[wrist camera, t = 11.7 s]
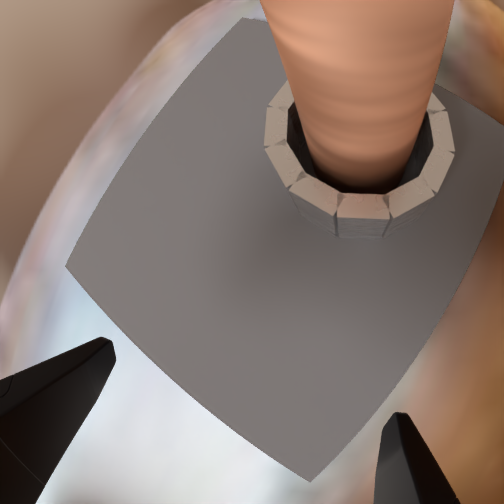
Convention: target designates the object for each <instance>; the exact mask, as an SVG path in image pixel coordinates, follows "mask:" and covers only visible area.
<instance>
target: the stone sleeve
mask: <svg viewBox="0 0 504 504" xmlns="http://www.w3.org/2000/svg"><path fill="white" fill-rule="evenodd" d="M268 105H269V107H267V113H266V125H265V137H264V147H265V151H266V153H267V155H268V156H269V158H270V160H271V162H272V164H273V166H274V167H275V169H276V171H277V173H278V175H279V177H280V179H281V180H282V182H283V184H284V186H285V188H286V190H287V191H288V193H289V195H290V197H291V199H292V201H293V202H294V204H295V206H296V208H297V210H298V212H299V214H301V216H302V217H304V218H305V219H307V220H309V221H310V222H312V223H314V224H315V225H317V226H318V227H320V228H322V229H323V230H325V231H327V232H328V233H330V234H331V235H333V236H335V237H336V236H337V235H338V233H339V238H345V239H369V240H380V238H382V239H384V238H386V237H387V236H389V235H391V234H393V233H395V232H397V231H398V230H400V229H402V228H404V227H406V226H407V225H409V224H411V223H413V222H414V221H416V220H417V219H418V218H419V216H420V215H421V214H422V213H423V211H424V210H425V209H426V207H427V206H428V205H429V203H430V202H431V201H432V199H433V198H434V197H435V195H436V194H437V193H438V191H439V188H440V186H441V184H442V182H443V180H444V178H445V176H446V173H447V171H448V169H449V167H450V164H451V162H452V160H453V158H454V152H455V148H454V143H453V137H452V132H451V127H450V122H449V117H448V113H447V111H445V109H446V108H445V107H444V106H443V105H442V103H441V102H440V101H439V100H438V99H437V97H436V96H435V95H434V94H433V93H431V96H430V99H429V103H428V106H427V109H426V112H425V115H424V118H423V121H422V124H421V127H420V130H419V133H418V136H417V139H416V141H415V144H414V147H413V150H414V153H415V162H416V172H417V178H415V179H413V180H411V181H410V182H408V183H406V184H404V185H402V186H400V187H398V188H396V189H395V190H393V191H391V192H389V193H387V194H385V195H378V194H352V193H341V192H339V191H337V190H335V189H334V188H332V187H330V186H328V185H327V184H325V183H323V182H321V181H319V180H318V179H316V178H314V177H312V176H310V175H309V174H307V173H305V171H304V170H303V168H302V166H301V165H300V161H301V147H302V146H303V145H304V143H305V142H306V139H305V135H304V131H303V128H302V124H301V121H300V118H299V114H298V111H297V108H296V104H295V101H294V98H293V95H292V91H291V88H290V85H289V82H288V80H287V81H286V82H285V84H284V85H283V86H282V87H281V89H280V90H279V91H278V93H277V94H276V95H275V96H274V98H273V99H272V100H271V102H270V103H269V104H268Z"/></svg>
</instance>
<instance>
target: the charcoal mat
mask: <svg viewBox="0 0 504 504" xmlns="http://www.w3.org/2000/svg"><path fill="white" fill-rule="evenodd" d="M287 80H288V79H287V76H286V73H285V70H284V67H283V64H282V61H281V58H280V55H279V52H278V49H277V46H276V43H275V40H274V38H273V35H272V32H271V29H270V26H269V24H268V23H267V22H263V21H258V20H253V19H248V18H242V19H240V20H239V21H238V22H237V23H236V24H235V25H234V26H233V27H232V28H231V30H230V31H229V32H228V33H227V34H226V35H225V36H224V37H223V38H222V39H221V40H220V41H219V42H218V43H217V44H216V45H215V46H214V47H213V48H212V50H211V51H210V52H209V53H208V54H207V55H206V56H205V57H204V58H203V60H202V61H201V62H200V63H199V64H198V65H197V66H196V68H195V69H194V70H193V71H192V72H191V73H190V75H189V76H188V77H187V78H186V79H185V81H184V82H183V83H182V84H181V85H180V87H179V88H178V89H177V90H176V92H175V93H174V94H173V95H172V97H171V98H170V99H169V100H168V102H167V103H166V104H165V106H164V107H163V108H162V109H161V111H160V112H159V113H158V115H157V116H156V117H155V119H154V120H153V121H152V123H151V124H150V125H149V127H148V128H147V130H146V131H145V132H144V134H143V135H142V137H141V138H140V139H139V141H138V142H137V144H136V145H135V147H134V148H133V150H132V151H131V153H130V154H129V156H128V157H127V159H126V160H125V162H124V163H123V165H122V166H121V168H120V169H119V171H118V172H117V174H116V175H115V177H114V179H113V180H112V182H111V183H110V185H109V187H108V188H107V190H106V192H105V193H104V195H103V197H102V198H101V200H100V202H99V203H98V205H97V207H96V209H95V210H94V212H93V214H92V216H91V217H90V219H89V221H88V223H87V225H86V226H85V228H84V230H83V232H82V234H81V236H80V238H79V239H78V241H77V243H76V245H75V247H74V249H73V251H72V253H71V255H70V257H69V259H68V261H67V263H66V265H65V267H66V268H67V269H68V271H69V272H70V273H71V274H72V275H73V277H74V278H75V279H76V280H77V281H78V283H79V284H80V285H81V286H82V287H83V289H84V290H85V291H86V292H87V293H88V294H89V296H90V297H91V298H92V299H93V300H94V301H95V302H96V303H97V305H98V306H99V307H100V308H101V309H102V310H103V311H104V312H105V313H106V315H107V316H108V317H109V318H110V319H111V320H112V321H113V322H114V323H115V324H116V325H117V326H118V327H119V328H120V329H121V331H122V332H123V333H124V334H125V335H126V336H127V337H128V338H129V339H130V340H131V341H132V342H133V343H134V344H135V345H136V346H137V347H138V348H139V349H140V350H141V351H142V352H143V353H144V354H145V355H146V356H147V357H148V358H149V359H151V360H152V361H153V362H154V363H155V364H156V365H157V366H158V367H159V368H160V369H161V370H162V371H163V372H164V373H165V374H167V375H168V376H169V377H170V378H171V379H172V380H173V381H174V382H175V383H177V384H178V385H179V386H180V387H181V388H182V389H183V390H185V391H186V392H187V393H188V394H189V395H190V396H191V397H193V398H194V399H195V400H196V401H197V402H199V403H200V404H201V405H202V406H203V407H205V408H206V409H207V410H208V411H210V412H211V413H212V414H213V415H214V416H216V417H217V418H218V419H220V420H221V421H222V422H223V423H225V424H226V425H227V426H229V427H230V428H231V429H232V430H234V431H235V432H236V433H238V434H239V435H240V436H242V437H243V438H244V439H246V440H247V441H249V442H250V443H251V444H253V445H254V446H256V447H257V448H258V449H260V450H261V451H263V452H264V453H265V454H267V455H268V456H270V457H271V458H273V459H274V460H276V461H277V462H279V463H280V464H282V465H283V466H285V467H286V468H288V469H289V470H291V471H293V472H294V473H296V474H297V475H299V476H301V477H302V478H304V479H305V480H307V481H309V482H311V481H312V480H313V479H314V478H315V477H316V476H317V475H318V474H319V473H320V472H321V471H322V470H323V469H324V468H325V467H326V466H327V465H328V464H329V463H330V462H331V461H332V460H333V459H334V458H335V457H336V456H337V455H338V454H339V453H340V452H341V451H342V450H343V449H344V448H345V447H346V446H347V444H348V443H349V442H350V441H351V440H352V439H353V438H354V437H355V436H356V434H357V433H358V432H359V431H360V430H361V429H362V428H363V426H364V425H365V424H366V423H367V422H368V420H369V419H370V418H371V417H372V416H373V414H374V413H375V412H376V411H377V410H378V408H379V407H380V406H381V405H382V403H383V402H384V401H385V399H386V398H387V397H388V396H389V394H390V393H391V392H392V390H393V389H394V388H395V386H396V385H397V384H398V382H399V381H400V380H401V378H402V377H403V375H404V374H405V373H406V371H407V370H408V368H409V367H410V366H411V364H412V363H413V361H414V360H415V358H416V357H417V355H418V354H419V352H420V351H421V349H422V348H423V346H424V345H425V343H426V341H427V340H428V338H429V337H430V335H431V334H432V332H433V330H434V329H435V327H436V325H437V324H438V322H439V320H440V319H441V317H442V315H443V314H444V312H445V310H446V308H447V307H448V305H449V303H450V301H451V299H452V298H453V296H454V294H455V292H456V290H457V288H458V286H459V284H460V283H461V281H462V279H463V277H464V275H465V273H466V271H467V269H468V267H469V265H470V262H471V260H472V258H473V256H474V254H475V252H476V250H477V247H478V245H479V243H480V241H481V238H482V236H483V234H484V231H485V229H486V227H487V224H488V222H489V219H490V217H491V214H492V212H493V209H494V206H495V204H496V201H497V198H498V195H499V193H500V190H501V187H502V184H503V181H504V126H503V125H502V124H500V123H499V122H497V121H496V120H494V119H493V118H492V117H490V116H489V115H487V114H486V113H484V112H482V111H481V110H479V109H478V108H476V107H475V106H473V105H471V104H470V103H468V102H466V101H465V100H463V99H461V98H460V97H458V96H456V95H455V94H453V93H451V92H449V91H448V90H446V89H444V88H442V87H440V86H438V85H437V84H435V83H434V86H433V90H432V93H433V94H434V95H435V96H436V97H437V99H438V100H439V101H440V102H441V103H442V105H443V106H444V107H445V108H446V109H445V111H447V113H448V117H449V122H450V127H451V132H452V137H453V143H454V148H455V152H454V158H453V160H452V162H451V164H450V167H449V169H448V171H447V173H446V176H445V178H444V180H443V182H442V184H441V186H440V188H439V191H438V193H437V194H436V195H435V197H434V198H433V199H432V201H431V202H430V203H429V205H428V206H427V207H426V209H425V210H424V211H423V213H422V214H421V215H420V216H419V218H418V219H417V220H416V221H414V222H413V223H411V224H409V225H407V226H406V227H404V228H402V229H400V230H398V231H397V232H395V233H393V234H391V235H389V236H387V237H386V238H384V239H382V238H380V240H369V239H345V238H339V233H338V235H337V236H336V237H335V236H333V235H331V234H330V233H328V232H327V231H325V230H323V229H322V228H320V227H318V226H317V225H315V224H314V223H312V222H310V221H309V220H307V219H305V218H304V217H302V216H301V214H299V212H298V210H297V208H296V206H295V204H294V202H293V201H292V199H291V197H290V195H289V193H288V191H287V190H286V188H285V186H284V184H283V182H282V180H281V179H280V177H279V175H278V173H277V171H276V169H275V167H274V166H273V164H272V162H271V160H270V158H269V156H268V155H267V153H266V151H265V147H264V137H265V125H266V113H267V107H269V105H268V104H269V103H270V102H271V100H272V99H273V98H274V96H275V95H276V94H277V93H278V91H279V90H280V89H281V87H282V86H283V85H284V84H285V82H286V81H287ZM300 165H301V166H302V168H303V170H304V171H305V173H307V174H309V175H310V176H312V177H314V178H316V175H315V172H314V168H313V164H312V160H311V157H310V153H309V149H308V146H307V142H305V143H304V145H303V146H302V147H301V161H300ZM415 178H417V172H416V162H415V153H414V150H412V152H411V155H410V158H409V161H408V163H407V166H406V168H405V171H404V174H403V176H402V179H401V181H400V184H399V186H398V187H400V186H402V185H404V184H406V183H408V182H410V181H411V180H413V179H415ZM316 179H317V178H316ZM398 187H397V188H398Z"/></svg>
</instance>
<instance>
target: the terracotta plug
mask: <svg viewBox="0 0 504 504" xmlns="http://www.w3.org/2000/svg"><path fill="white" fill-rule="evenodd" d="M260 3H261V5H262V8H263V10H264V13H265V16H266V18H267V21H268V24H269V26H270V29H271V32H272V35H273V38H274V40H275V43H276V46H277V49H278V52H279V55H280V58H281V61H282V64H283V67H284V70H285V73H286V76H287V79H288V82H289V85H290V88H291V91H292V95H293V98H294V101H295V104H296V108H297V111H298V114H299V118H300V121H301V124H302V128H303V131H304V135H305V139H306V142H307V146H308V149H309V153H310V157H311V160H312V164H313V168H314V172H315V175H316V178H317V179H318V180H319V181H321V182H323V183H325V184H327V185H328V186H330V187H332V188H334V189H335V190H337V191H339V192H341V193H352V194H378V195H385V194H387V193H389V192H391V191H393V190H395V189H396V188H397V187H398V186H399V184H400V181H401V179H402V176H403V174H404V171H405V168H406V166H407V163H408V161H409V158H410V155H411V152H412V150H413V147H414V144H415V141H416V139H417V136H418V133H419V130H420V127H421V124H422V121H423V118H424V115H425V112H426V109H427V106H428V103H429V99H430V96H431V93H432V90H433V86H434V83H435V79H436V76H437V72H438V69H439V65H440V61H441V57H442V54H443V50H444V46H445V42H446V37H447V33H448V29H449V24H450V20H451V15H452V10H453V5H454V0H260Z"/></svg>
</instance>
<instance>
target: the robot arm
mask: <svg viewBox="0 0 504 504" xmlns="http://www.w3.org/2000/svg"><path fill="white" fill-rule="evenodd" d="M115 362H116V355H115V351H114V346H113V342H112V341H111V340H109V339H107V338H104V337H98V338H96V339H94V340H92V341H89V342H87V343H85V344H83V345H80V346H78V347H76V348H73V349H71V350H69V351H67V352H64V353H62V354H60V355H57V356H55V357H53V358H50V359H48V360H46V361H44V362H41V363H39V364H37V365H34V366H32V367H30V368H27V369H25V370H23V371H20V372H18V373H16V374H14V375H11V376H8V377H6V378H4V379H1V380H0V504H36V502H37V500H38V498H39V496H40V495H41V493H42V491H43V489H44V488H45V485H46V484H47V482H48V480H49V478H50V477H51V475H52V473H53V472H54V470H55V468H56V466H57V465H58V463H59V461H60V460H61V458H62V456H63V455H64V453H65V451H66V450H67V448H68V446H69V445H70V443H71V441H72V440H73V438H74V436H75V435H76V433H77V432H78V430H79V428H80V427H81V425H82V423H83V422H84V420H85V419H86V417H87V415H88V414H89V412H90V411H91V409H92V408H93V406H94V404H95V403H96V401H97V399H98V397H99V396H100V394H101V392H102V389H103V387H104V385H105V383H106V381H107V379H108V377H109V375H110V373H111V371H112V369H113V367H114V365H115ZM373 504H461V503H460V502H459V500H458V498H456V495H455V493H454V491H453V489H452V488H451V486H450V484H449V482H448V480H447V479H446V477H445V475H444V474H443V472H442V470H441V468H440V467H439V465H438V463H437V461H436V460H435V458H434V456H433V455H432V453H431V451H430V450H429V448H428V446H427V445H426V443H425V441H424V440H423V438H422V436H421V435H420V433H419V431H418V430H417V428H416V426H415V425H414V423H413V421H412V420H411V418H410V417H409V415H408V414H407V413H401V412H395V413H394V414H393V415H392V416H391V418H390V419H389V420H388V422H387V423H386V424H385V426H384V428H383V430H382V435H381V443H380V450H379V456H378V462H377V468H376V476H375V490H374V503H373Z"/></svg>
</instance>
